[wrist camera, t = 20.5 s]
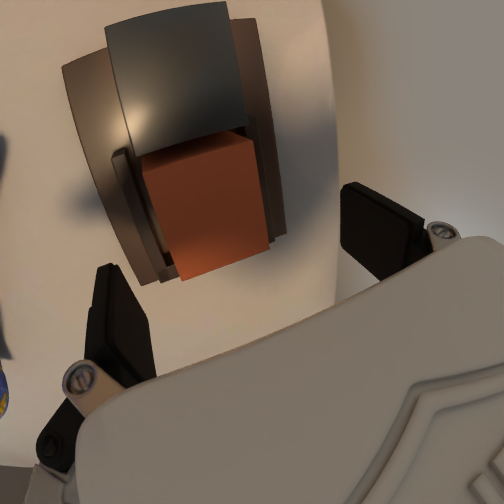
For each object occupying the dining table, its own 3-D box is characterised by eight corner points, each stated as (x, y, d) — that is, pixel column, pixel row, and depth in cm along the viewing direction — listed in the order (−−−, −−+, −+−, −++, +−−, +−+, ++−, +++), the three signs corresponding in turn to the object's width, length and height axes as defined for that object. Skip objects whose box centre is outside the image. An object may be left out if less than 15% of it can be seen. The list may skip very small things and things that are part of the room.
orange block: (226, 129, 15) (253, 140, 12) (244, 219, 18) (270, 249, 15) (141, 155, 14) (141, 173, 11) (171, 244, 17) (182, 282, 14)
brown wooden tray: (248, 22, 12) (290, -1, 8) (279, 226, 21) (316, 262, 17) (66, 68, 10) (35, 57, 6) (140, 276, 19) (146, 328, 15)
